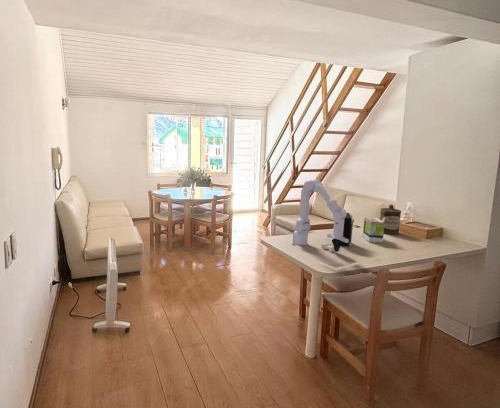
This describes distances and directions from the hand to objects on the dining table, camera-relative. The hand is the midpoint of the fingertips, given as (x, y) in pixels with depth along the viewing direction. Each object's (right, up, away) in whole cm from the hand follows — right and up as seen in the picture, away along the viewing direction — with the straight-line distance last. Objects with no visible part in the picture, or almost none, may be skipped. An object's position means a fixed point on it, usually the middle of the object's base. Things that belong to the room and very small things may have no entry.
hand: (336, 251), depth 210 cm
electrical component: (+10, +1, +24) cm, 26 cm away
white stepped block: (-2, 0, +3) cm, 4 cm away
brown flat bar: (-2, +1, +9) cm, 9 cm away
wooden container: (+56, +6, +61) cm, 83 cm away
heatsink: (-1, -1, +9) cm, 9 cm away
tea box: (+35, +3, +39) cm, 53 cm away
